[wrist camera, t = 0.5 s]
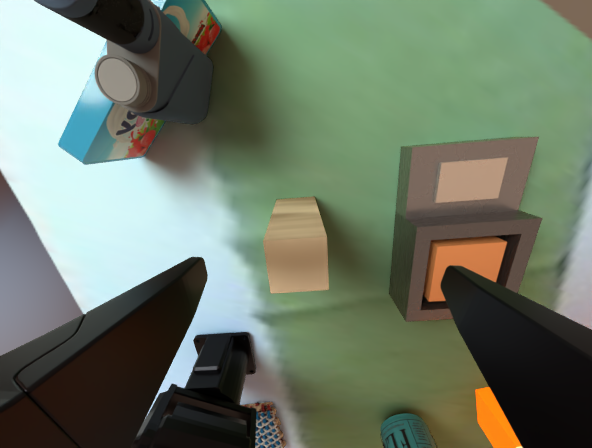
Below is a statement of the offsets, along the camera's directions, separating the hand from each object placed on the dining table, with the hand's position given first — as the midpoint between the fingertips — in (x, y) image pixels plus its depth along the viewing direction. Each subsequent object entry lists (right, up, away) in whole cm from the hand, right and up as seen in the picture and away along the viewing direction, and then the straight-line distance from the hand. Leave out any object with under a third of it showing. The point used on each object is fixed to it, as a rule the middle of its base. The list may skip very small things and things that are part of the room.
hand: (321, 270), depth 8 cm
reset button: (+13, -2, +12) cm, 18 cm away
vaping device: (-9, +12, +9) cm, 18 cm away
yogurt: (-11, +12, +10) cm, 19 cm away
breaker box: (+13, +2, +13) cm, 19 cm away
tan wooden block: (-1, +2, +13) cm, 13 cm away
